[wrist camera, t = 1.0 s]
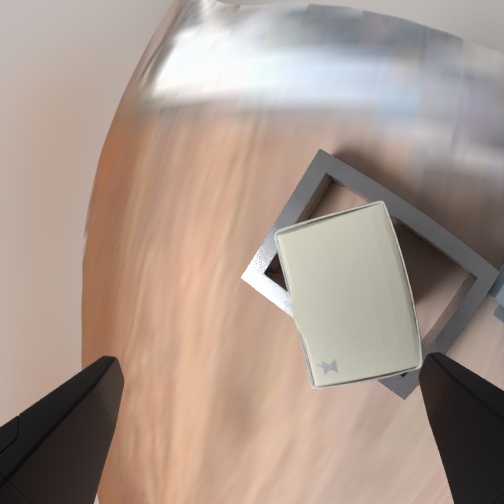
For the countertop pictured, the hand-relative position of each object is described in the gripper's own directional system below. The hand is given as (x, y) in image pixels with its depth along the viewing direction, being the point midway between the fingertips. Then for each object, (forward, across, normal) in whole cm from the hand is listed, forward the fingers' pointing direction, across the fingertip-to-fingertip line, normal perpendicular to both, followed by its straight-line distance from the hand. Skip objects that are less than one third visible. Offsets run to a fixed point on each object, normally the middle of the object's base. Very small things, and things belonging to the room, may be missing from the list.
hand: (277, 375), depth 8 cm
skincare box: (+13, -8, +3) cm, 16 cm away
